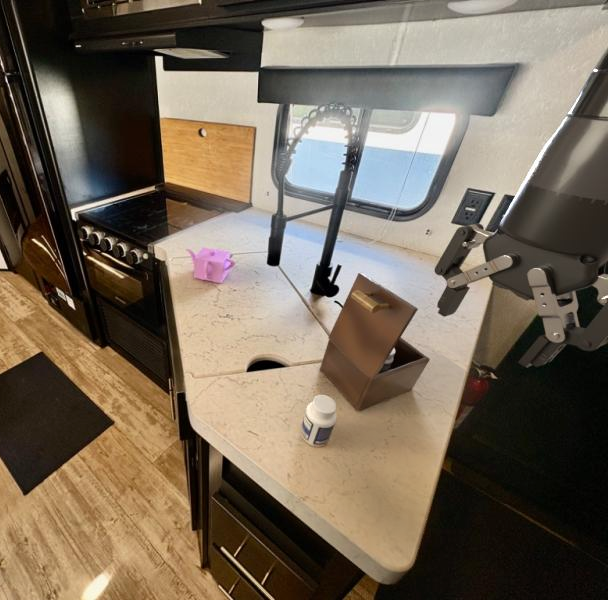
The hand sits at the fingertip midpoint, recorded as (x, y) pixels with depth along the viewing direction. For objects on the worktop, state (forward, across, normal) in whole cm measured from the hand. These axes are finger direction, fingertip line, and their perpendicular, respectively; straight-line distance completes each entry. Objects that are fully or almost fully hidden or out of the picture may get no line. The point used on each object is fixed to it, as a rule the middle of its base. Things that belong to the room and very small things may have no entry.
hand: (482, 336), depth 34 cm
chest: (+34, -19, +15) cm, 42 cm away
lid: (+16, -19, +9) cm, 26 cm away
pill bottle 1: (+34, -12, -5) cm, 37 cm away
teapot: (+34, -76, -1) cm, 83 cm away
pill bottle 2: (+34, -19, +17) cm, 42 cm away
